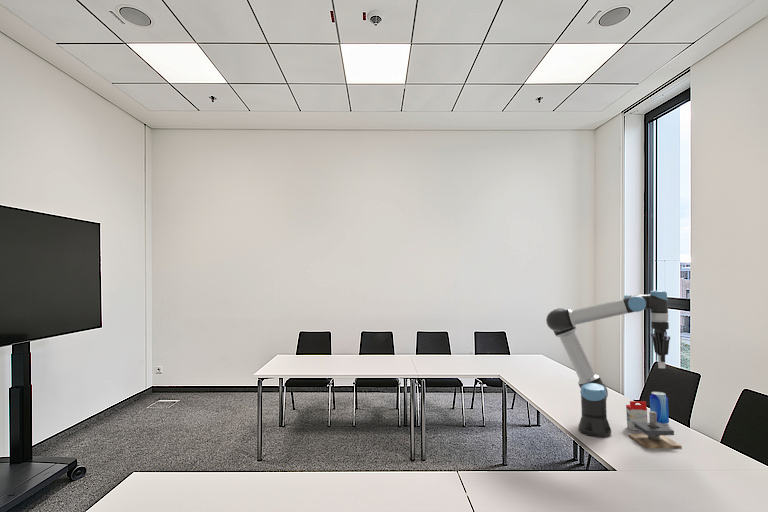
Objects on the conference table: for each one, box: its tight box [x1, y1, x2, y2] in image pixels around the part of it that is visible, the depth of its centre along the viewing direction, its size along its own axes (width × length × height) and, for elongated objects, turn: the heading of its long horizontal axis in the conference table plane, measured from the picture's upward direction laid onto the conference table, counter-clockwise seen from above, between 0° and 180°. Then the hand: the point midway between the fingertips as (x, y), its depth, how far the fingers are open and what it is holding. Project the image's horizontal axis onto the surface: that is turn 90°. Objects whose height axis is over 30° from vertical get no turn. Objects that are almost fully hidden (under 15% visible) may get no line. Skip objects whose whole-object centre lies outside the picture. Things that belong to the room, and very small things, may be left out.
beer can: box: [649, 391, 670, 426], centre depth 244 cm, size 8×8×16 cm
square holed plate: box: [634, 422, 675, 436], centre depth 217 cm, size 12×12×2 cm
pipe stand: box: [628, 410, 683, 449], centre depth 217 cm, size 16×16×14 cm
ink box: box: [625, 400, 649, 431], centre depth 236 cm, size 8×5×15 cm, turn 84°
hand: (661, 368), depth 230 cm, fingers closed
